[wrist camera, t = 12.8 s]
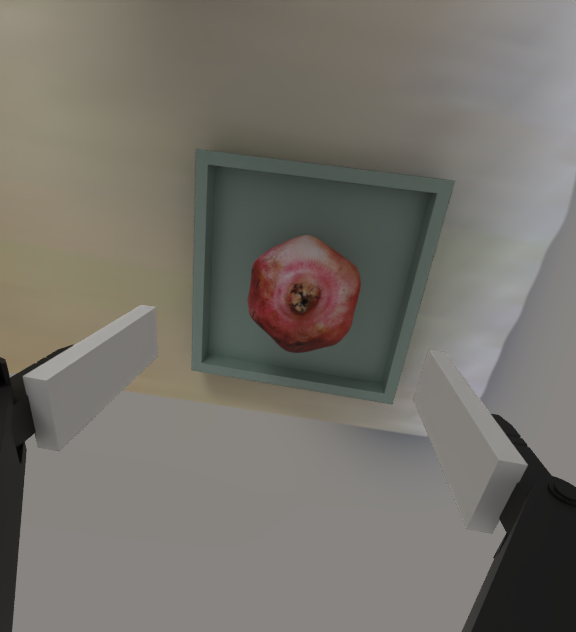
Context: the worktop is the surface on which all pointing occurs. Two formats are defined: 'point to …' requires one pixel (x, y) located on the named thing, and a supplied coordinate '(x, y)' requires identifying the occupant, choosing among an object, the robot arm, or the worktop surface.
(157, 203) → the worktop surface
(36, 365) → the robot arm
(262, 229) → the tray
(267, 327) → the fruit
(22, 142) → the worktop surface
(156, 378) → the worktop surface
